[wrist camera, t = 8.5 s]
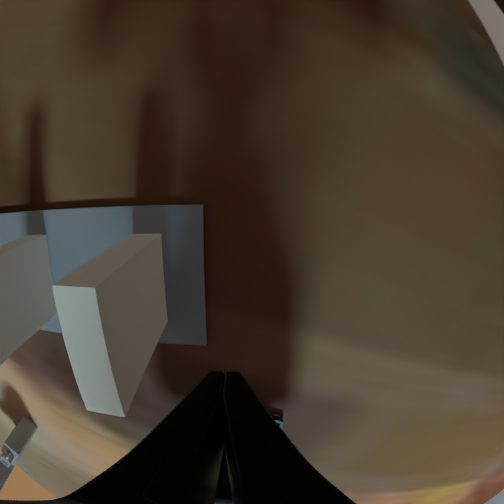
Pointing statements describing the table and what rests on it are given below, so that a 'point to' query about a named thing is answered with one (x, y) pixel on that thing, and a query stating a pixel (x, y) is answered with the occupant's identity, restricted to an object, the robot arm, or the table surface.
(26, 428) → the lighter
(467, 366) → the table surface
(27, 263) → the tile
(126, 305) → the tile
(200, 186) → the table surface
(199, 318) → the runner
